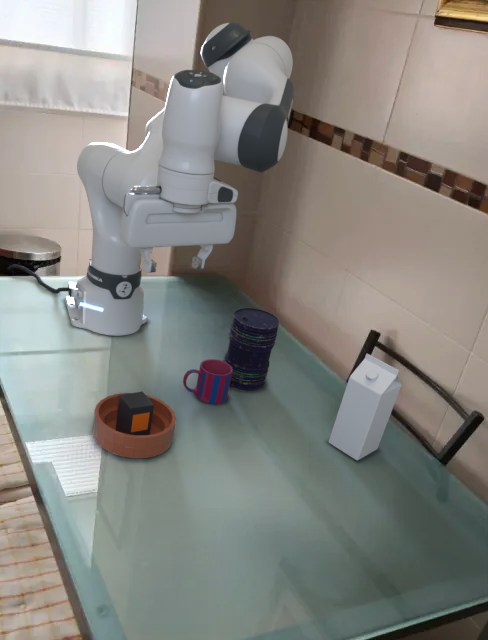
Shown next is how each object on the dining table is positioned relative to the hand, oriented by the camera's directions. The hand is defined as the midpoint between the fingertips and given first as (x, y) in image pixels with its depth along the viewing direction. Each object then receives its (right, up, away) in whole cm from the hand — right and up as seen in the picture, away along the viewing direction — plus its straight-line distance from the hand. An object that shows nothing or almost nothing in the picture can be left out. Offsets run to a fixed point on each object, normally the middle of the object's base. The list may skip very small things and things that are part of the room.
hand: (173, 269), depth 111 cm
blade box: (-8, -28, +7) cm, 30 cm away
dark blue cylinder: (+13, -17, +33) cm, 39 cm away
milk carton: (+34, -31, +18) cm, 49 cm away
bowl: (-8, -29, +8) cm, 31 cm away
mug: (+5, -20, +24) cm, 32 cm away
